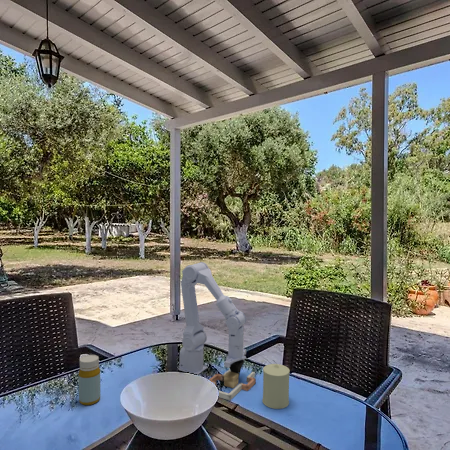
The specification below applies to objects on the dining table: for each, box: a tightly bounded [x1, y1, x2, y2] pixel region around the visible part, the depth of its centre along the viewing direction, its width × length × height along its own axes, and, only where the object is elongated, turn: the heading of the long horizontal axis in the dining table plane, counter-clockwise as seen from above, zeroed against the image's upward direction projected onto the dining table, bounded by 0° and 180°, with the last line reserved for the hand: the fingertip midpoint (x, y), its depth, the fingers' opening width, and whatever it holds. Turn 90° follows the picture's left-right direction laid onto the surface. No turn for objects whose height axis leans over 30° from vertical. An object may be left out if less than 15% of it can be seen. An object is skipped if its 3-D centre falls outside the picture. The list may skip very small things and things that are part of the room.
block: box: [223, 371, 240, 389], centre depth 141 cm, size 4×4×4 cm
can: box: [262, 363, 291, 410], centre depth 129 cm, size 9×9×12 cm
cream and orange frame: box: [208, 368, 257, 401], centre depth 141 cm, size 15×20×2 cm
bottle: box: [78, 354, 101, 406], centre depth 128 cm, size 7×7×15 cm
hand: (235, 378), depth 144 cm, fingers closed
